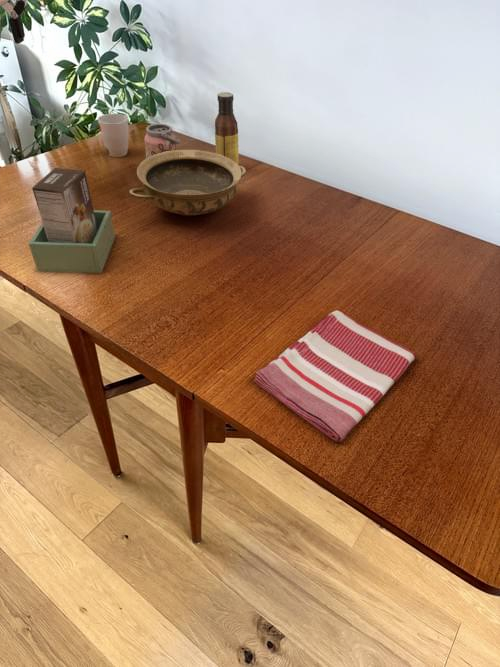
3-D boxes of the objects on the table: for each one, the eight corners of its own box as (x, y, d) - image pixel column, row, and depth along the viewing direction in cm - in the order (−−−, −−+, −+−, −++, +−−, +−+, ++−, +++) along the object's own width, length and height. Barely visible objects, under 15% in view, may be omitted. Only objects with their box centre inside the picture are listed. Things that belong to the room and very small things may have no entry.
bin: (37, 272, 92) (28, 243, 88) (57, 235, 102) (50, 208, 98) (101, 274, 93) (95, 245, 88) (115, 237, 103) (110, 210, 98)
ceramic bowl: (154, 248, 100) (149, 206, 93) (115, 201, 115) (108, 162, 108) (269, 216, 113) (272, 177, 106) (221, 177, 127) (221, 140, 120)
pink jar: (174, 163, 132) (171, 120, 124) (186, 175, 127) (184, 130, 119) (143, 169, 129) (138, 124, 120) (154, 181, 123) (150, 135, 115)
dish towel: (250, 383, 73) (251, 372, 72) (334, 315, 87) (337, 304, 85) (338, 447, 66) (342, 436, 64) (416, 361, 79) (421, 350, 77)
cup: (110, 147, 139) (105, 112, 132) (136, 150, 138) (132, 115, 131) (99, 157, 133) (92, 121, 126) (125, 161, 132) (120, 125, 125)
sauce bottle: (240, 167, 132) (242, 92, 119) (235, 176, 128) (236, 99, 114) (218, 164, 133) (218, 89, 120) (212, 173, 129) (211, 96, 115)
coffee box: (73, 237, 101) (55, 166, 90) (101, 241, 100) (86, 169, 89) (52, 261, 94) (30, 186, 83) (82, 265, 94) (64, 191, 83)
